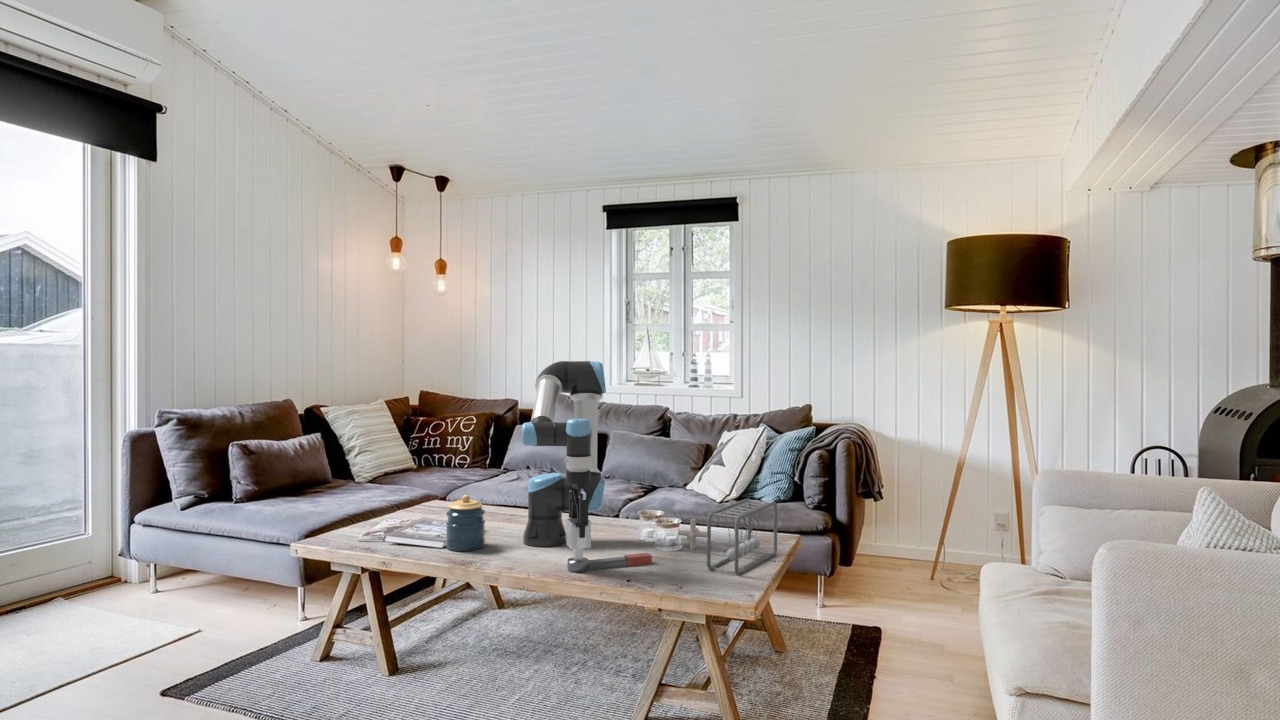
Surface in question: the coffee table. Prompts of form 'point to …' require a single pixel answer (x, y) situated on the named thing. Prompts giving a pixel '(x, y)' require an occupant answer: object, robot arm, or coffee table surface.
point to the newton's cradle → (747, 545)
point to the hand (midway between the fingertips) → (578, 545)
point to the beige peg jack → (692, 533)
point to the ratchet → (605, 561)
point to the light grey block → (572, 533)
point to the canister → (465, 525)
